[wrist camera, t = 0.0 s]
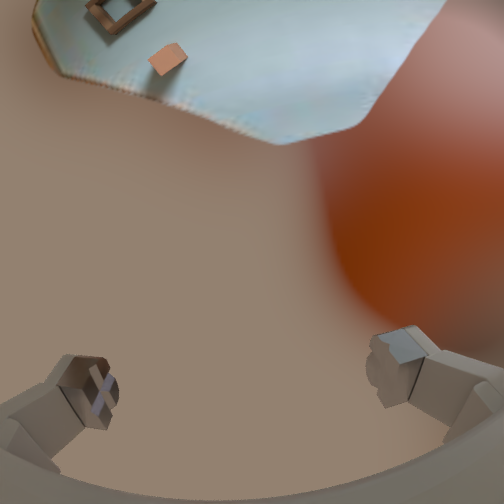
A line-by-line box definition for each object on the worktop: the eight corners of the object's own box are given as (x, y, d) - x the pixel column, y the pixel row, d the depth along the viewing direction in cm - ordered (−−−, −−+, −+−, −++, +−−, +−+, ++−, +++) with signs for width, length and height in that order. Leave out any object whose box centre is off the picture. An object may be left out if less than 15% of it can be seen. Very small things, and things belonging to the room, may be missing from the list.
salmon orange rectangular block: (159, 54, 41) (147, 59, 34) (176, 42, 40) (167, 45, 33) (171, 68, 44) (161, 76, 37) (188, 56, 42) (181, 62, 36)
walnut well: (91, 5, 29) (84, 5, 27) (130, -27, 26) (126, -29, 24) (116, 34, 36) (110, 34, 34) (157, 2, 33) (153, 1, 31)
